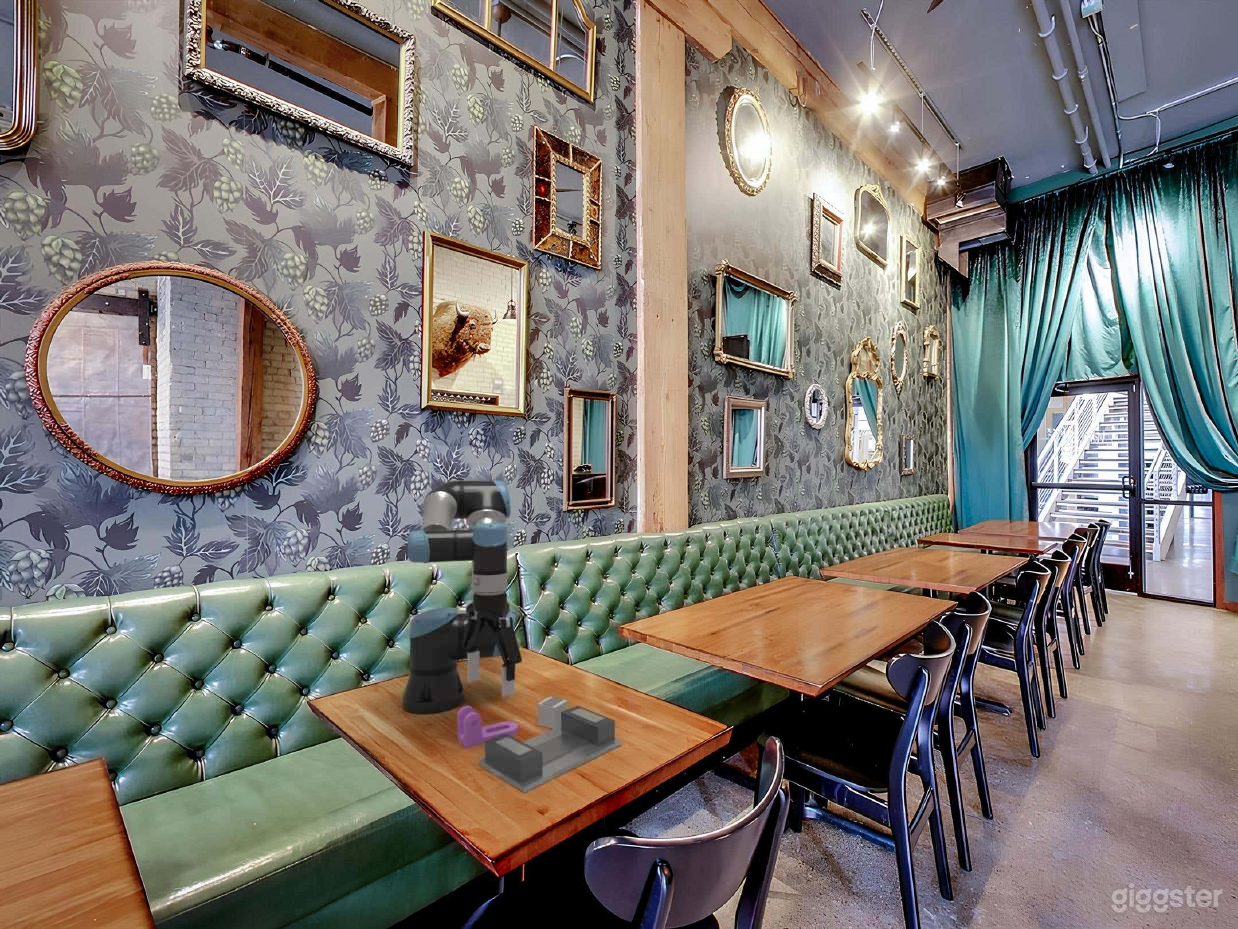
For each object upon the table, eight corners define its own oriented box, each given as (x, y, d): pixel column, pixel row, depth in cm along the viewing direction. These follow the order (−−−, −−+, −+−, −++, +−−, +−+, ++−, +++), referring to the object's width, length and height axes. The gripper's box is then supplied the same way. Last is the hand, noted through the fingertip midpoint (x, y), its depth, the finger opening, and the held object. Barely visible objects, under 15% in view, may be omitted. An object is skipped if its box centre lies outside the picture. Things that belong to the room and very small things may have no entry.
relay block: (537, 725, 136) (537, 703, 136) (550, 717, 140) (550, 695, 140) (555, 729, 133) (555, 707, 134) (567, 721, 138) (567, 699, 138)
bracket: (465, 749, 124) (465, 716, 124) (457, 739, 129) (457, 707, 129) (521, 734, 131) (521, 703, 131) (512, 725, 136) (512, 695, 136)
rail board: (478, 765, 117) (478, 739, 117) (574, 724, 136) (574, 702, 136) (524, 793, 107) (524, 764, 107) (621, 745, 125) (621, 720, 126)
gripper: (446, 587, 137) (446, 678, 136) (509, 602, 119) (509, 706, 119) (474, 583, 142) (474, 671, 141) (538, 596, 125) (538, 696, 124)
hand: (490, 687), depth 130 cm, fingers open, 13 cm apart
